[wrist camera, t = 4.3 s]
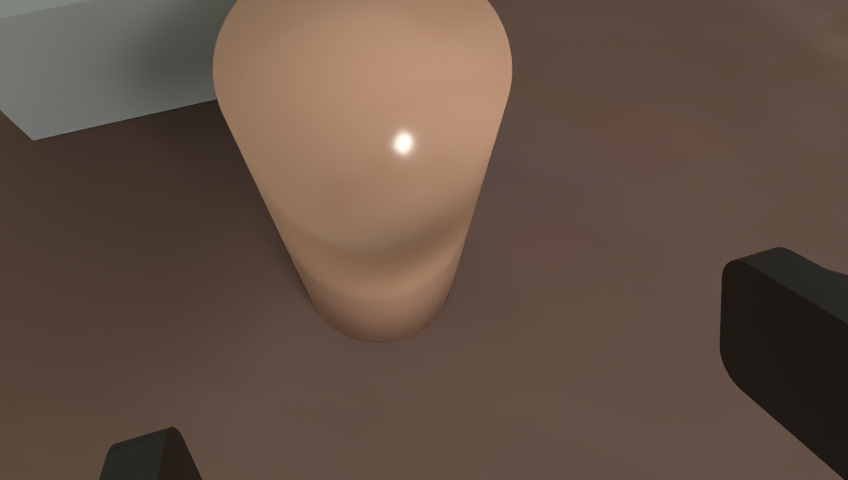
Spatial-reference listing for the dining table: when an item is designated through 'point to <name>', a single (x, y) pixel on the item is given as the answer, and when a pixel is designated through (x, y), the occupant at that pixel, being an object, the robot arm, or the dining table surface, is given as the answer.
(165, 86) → the low wall
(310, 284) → the peach rounded cylinder
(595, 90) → the dining table surface
